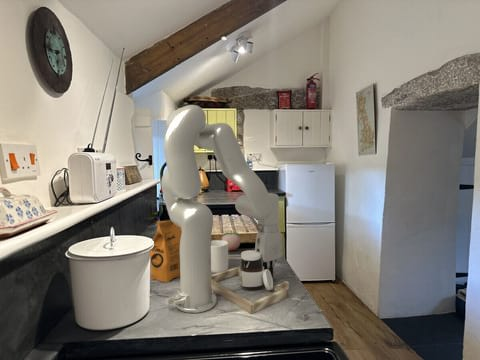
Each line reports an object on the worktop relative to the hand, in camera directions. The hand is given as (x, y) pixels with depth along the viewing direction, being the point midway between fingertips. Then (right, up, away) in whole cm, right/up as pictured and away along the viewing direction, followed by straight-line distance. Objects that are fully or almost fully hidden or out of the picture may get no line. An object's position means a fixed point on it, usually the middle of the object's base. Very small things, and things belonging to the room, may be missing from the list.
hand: (268, 277), depth 105 cm
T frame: (-7, -2, -6) cm, 10 cm away
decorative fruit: (-15, +1, +33) cm, 36 cm away
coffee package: (-38, -1, +5) cm, 39 cm away
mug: (-19, -1, +13) cm, 23 cm away
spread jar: (-5, -2, -4) cm, 7 cm away
